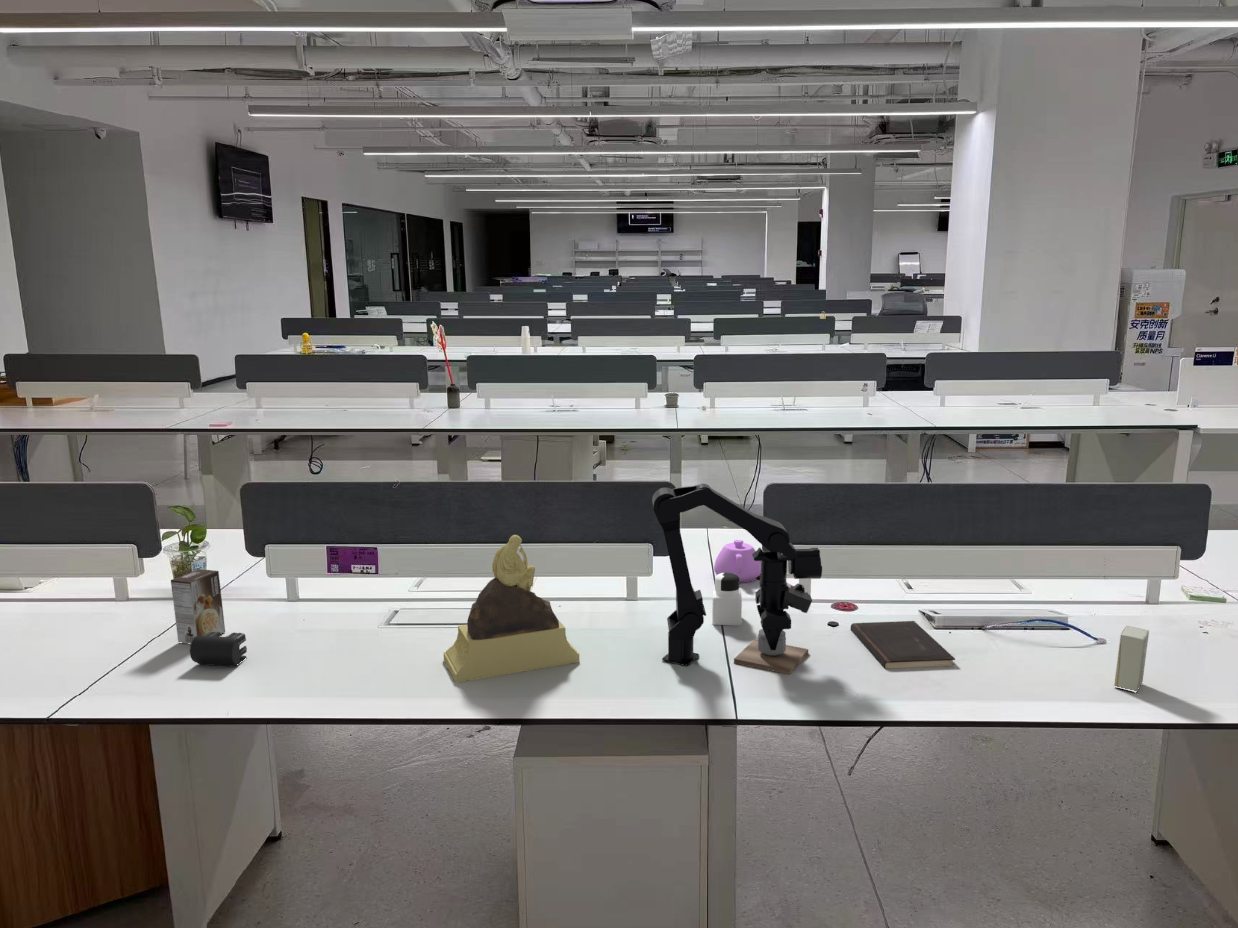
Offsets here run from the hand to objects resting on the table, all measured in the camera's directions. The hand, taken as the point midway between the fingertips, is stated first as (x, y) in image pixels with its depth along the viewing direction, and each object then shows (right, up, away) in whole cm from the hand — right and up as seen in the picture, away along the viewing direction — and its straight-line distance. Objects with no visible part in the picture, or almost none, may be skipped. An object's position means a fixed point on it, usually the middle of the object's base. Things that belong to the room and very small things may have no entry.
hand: (771, 644), depth 209 cm
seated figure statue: (-59, -4, +1) cm, 59 cm away
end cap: (-125, -5, +1) cm, 125 cm away
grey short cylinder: (0, -1, 0) cm, 1 cm away
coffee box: (-136, -2, +16) cm, 137 cm away
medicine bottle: (-7, +1, +24) cm, 25 cm away
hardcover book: (+31, -3, +7) cm, 32 cm away
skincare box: (+72, -6, -15) cm, 74 cm away
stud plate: (0, -3, +1) cm, 3 cm away
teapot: (0, +8, +59) cm, 60 cm away
